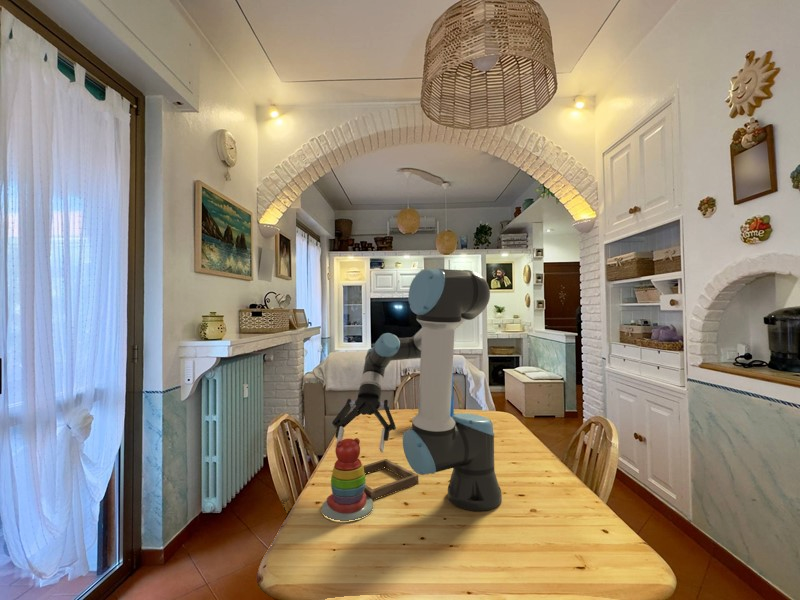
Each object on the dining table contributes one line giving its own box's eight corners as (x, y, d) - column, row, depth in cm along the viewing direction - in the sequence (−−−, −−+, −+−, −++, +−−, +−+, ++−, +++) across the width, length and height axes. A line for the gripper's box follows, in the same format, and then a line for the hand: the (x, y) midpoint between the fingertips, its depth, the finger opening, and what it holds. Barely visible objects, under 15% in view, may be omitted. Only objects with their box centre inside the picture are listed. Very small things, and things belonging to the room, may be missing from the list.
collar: (418, 483, 119) (418, 475, 119) (371, 501, 108) (371, 492, 109) (386, 466, 133) (385, 458, 133) (341, 480, 122) (341, 472, 122)
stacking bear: (362, 492, 111) (361, 431, 112) (372, 509, 102) (371, 442, 102) (325, 499, 108) (324, 436, 108) (332, 517, 98) (331, 447, 99)
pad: (383, 510, 103) (383, 506, 103) (337, 529, 95) (336, 524, 95) (356, 491, 114) (356, 488, 114) (312, 506, 106) (312, 503, 106)
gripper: (408, 395, 131) (401, 456, 116) (338, 393, 135) (323, 452, 120) (405, 382, 125) (398, 445, 111) (332, 381, 130) (316, 442, 115)
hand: (359, 449), depth 115 cm, fingers open, 13 cm apart
